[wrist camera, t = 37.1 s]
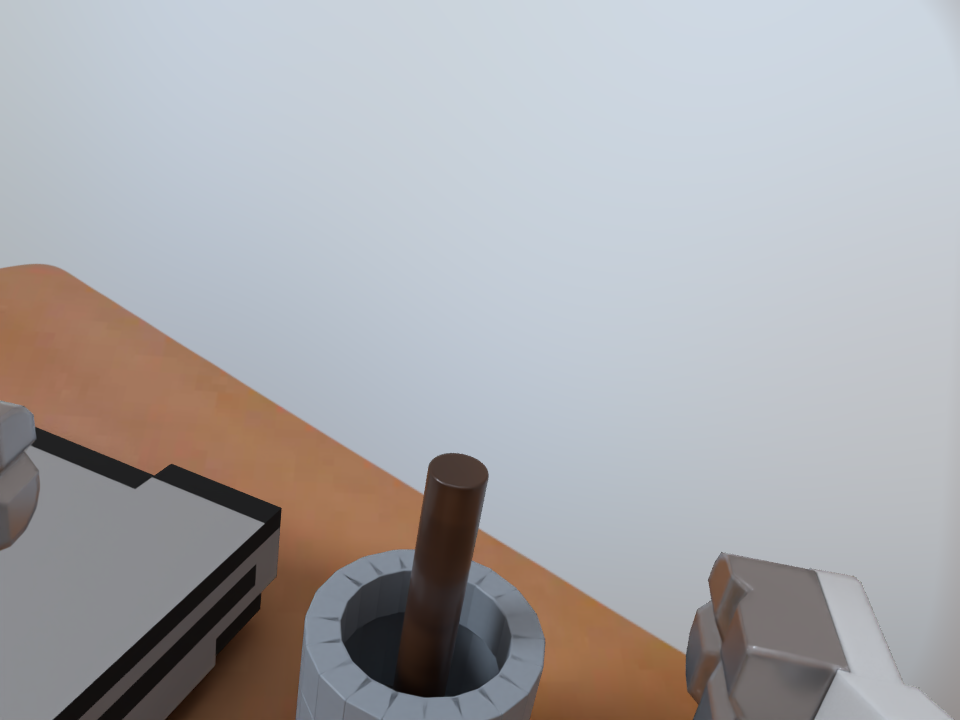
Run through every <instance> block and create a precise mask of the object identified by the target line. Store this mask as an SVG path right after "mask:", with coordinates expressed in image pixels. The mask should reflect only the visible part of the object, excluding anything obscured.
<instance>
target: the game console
mask: <svg viewBox="0 0 960 720" xmlns="http://www.w3.org/2000/svg"><path fill="white" fill-rule="evenodd" d="M35 432H36V440H35V441H34V442H33V443H32V445H31V446H30V447H29V448H28V449H27V450H26V451H25V452H26V454H27V455H28V456H29V458H30V459H31V460H32V462H33V463H34V464H35V466H36V467H37V469H38V470H39V478H40V492H39V498H38V504H37V508H36V510H35V512H34V515H33V517H32V519H31V521H30V523H29V525H28V527H27V529H26V531H25V532H24V533H23V534H22V535H21V536H20V537H19V538H18V539H17V540H16V542H15V543H14V544H13V545H12V546H11V547H9V548H6V549H3V550H1V551H0V720H165V719H166V718H167V717H168V715H169V714H170V713H171V712H172V711H173V710H174V709H175V708H176V707H177V706H178V705H179V704H180V703H181V701H182V700H183V699H184V698H185V697H186V696H187V695H188V694H189V693H190V692H191V691H192V690H193V689H194V688H195V686H196V685H197V684H198V683H199V682H200V681H201V680H202V679H203V678H204V677H205V676H206V675H207V674H208V672H209V671H210V670H211V669H212V668H213V667H214V666H215V656H216V655H217V654H218V653H219V652H220V651H221V650H222V649H223V648H224V647H225V646H226V645H227V644H228V643H229V642H230V640H231V639H232V638H233V637H234V636H235V635H236V634H237V633H238V632H239V631H240V630H241V629H242V628H243V627H244V626H245V625H246V623H247V622H248V621H249V620H250V619H251V618H252V617H253V616H254V615H255V614H256V613H257V612H258V611H259V610H260V604H261V592H262V591H263V590H264V589H265V588H266V587H267V586H268V585H269V584H270V582H271V581H272V580H273V579H274V578H275V577H276V576H277V563H278V549H279V536H280V522H281V508H280V507H278V506H275V505H273V504H270V503H268V502H265V501H263V500H260V499H258V498H255V497H253V496H250V495H248V494H245V493H243V492H240V491H238V490H235V489H233V488H230V487H228V486H225V485H223V484H220V483H218V482H215V481H213V480H210V479H208V478H205V477H203V476H201V475H198V474H196V473H193V472H191V471H188V470H186V469H183V468H181V467H178V466H176V465H173V464H170V465H169V466H167V467H166V468H164V469H163V470H162V471H160V472H159V473H157V474H156V475H155V476H154V475H152V474H149V473H147V472H144V471H142V470H139V469H137V468H135V467H132V466H130V465H127V464H125V463H122V462H120V461H117V460H115V459H113V458H110V457H108V456H105V455H103V454H100V453H98V452H95V451H93V450H90V449H88V448H86V447H83V446H81V445H78V444H76V443H73V442H71V441H68V440H66V439H64V438H61V437H59V436H56V435H54V434H51V433H49V432H46V431H44V430H42V429H39V428H37V427H35Z"/></svg>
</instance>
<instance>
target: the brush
mask: <svg viewBox="0 0 960 720" xmlns="http://www.w3.org/2000/svg"><path fill="white" fill-rule="evenodd" d="M487 482H488V471H487V468H486V467H485V465H483V463H481V462H480V461H479V460H477V459H475V458H473V457H471V456H468V455H464V454H459V453H447V454H442V455H439V456H437V457H435V458H434V459H433V460H432V461H431V462H430V464H429V467H428V473H427V479H426V486H425V491H424V498H423V504H422V510H421V516H420V522H419V528H418V535H417V541H416V547H415V553H414V559H413V566H412V572H411V578H410V584H409V590H408V597H407V603H406V609H405V615H404V621H403V628H402V634H401V640H400V646H399V652H398V658H397V665H396V671H395V677H394V683H393V686H392V685H387V684H385V686H387V687H388V688H390V689H392V690H394V691H396V692H400V693H405V694H409V695H414V696H419V697H423V698H431V697H446V696H445V692H446V687H447V682H448V677H449V672H450V667H451V662H452V657H453V652H454V647H455V642H456V637H457V632H458V627H459V622H460V617H461V612H462V607H463V602H464V597H465V592H466V587H467V582H468V577H469V572H470V567H471V562H472V557H473V552H474V547H475V542H476V537H477V532H478V527H479V522H480V517H481V512H482V507H483V502H484V497H485V492H486V487H487Z"/></svg>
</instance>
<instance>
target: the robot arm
mask: <svg viewBox="0 0 960 720" xmlns="http://www.w3.org/2000/svg"><path fill="white" fill-rule="evenodd" d="M35 440H36V432H35V424H34V416H33V414H32V413H31V412H30V411H29V410H28V409H27V408H25V407H24V406H21V405H17V404H13V403H8V402H4V401H0V551H1V550H3V549H6V548H9V547H11V546H12V545H13V544H14V543H15V542H16V540H17V539H18V538H19V537H20V536H21V535H22V534H23V533H24V532H25V531H26V529H27V527H28V525H29V523H30V521H31V519H32V517H33V515H34V512H35V510H36V508H37V504H38V498H39V492H40V478H39V470H38V469H37V467H36V466H35V464H34V463H33V462H32V460H31V459H30V458H29V456H28V455H27V454H26V452H25V451H26V450H27V449H28V448H29V447H30V446H31V445H32V443H33V442H34V441H35ZM708 582H709V588H710V593H711V601H709V602H708V603H706V604H705V605H703V606H702V607H700V608H699V609H698V610H697V612H696V615H695V618H694V621H693V624H692V627H691V631H690V636H689V641H688V647H687V653H686V681H687V691H688V693H689V694H690V695H691V696H692V698H693V699H694V700H695V701H696V702H697V704H698V708H697V711H696V713H695V716H694V719H693V720H954V719H953V718H952V717H951V716H950V715H949V714H948V713H946V712H945V711H944V710H943V709H942V708H941V707H940V706H939V705H937V704H936V703H935V702H934V701H933V700H932V699H931V698H929V697H928V696H927V695H926V694H925V693H924V692H923V691H922V690H920V689H919V688H917V687H913V686H908V685H904V683H903V680H902V678H901V675H900V673H899V671H898V668H897V666H896V664H895V661H894V659H893V656H892V654H891V652H890V649H889V647H888V645H887V642H886V640H885V637H884V635H883V633H882V630H881V628H880V626H879V623H878V621H877V618H876V616H875V614H874V612H873V609H872V607H871V604H870V602H869V599H868V597H867V595H866V592H865V590H864V588H863V585H862V583H861V582H860V581H859V580H858V579H857V578H856V577H854V576H850V575H844V574H839V573H832V572H827V571H822V570H816V569H804V568H799V567H793V566H789V565H784V564H778V563H773V562H769V561H764V560H759V559H753V558H748V557H743V556H738V555H733V554H728V553H723V552H721V554H720V555H719V557H718V558H717V560H716V561H715V563H714V565H713V568H712V571H711V573H710V576H709V579H708Z"/></svg>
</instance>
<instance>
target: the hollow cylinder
mask: <svg viewBox="0 0 960 720" xmlns="http://www.w3.org/2000/svg"><path fill="white" fill-rule="evenodd" d="M414 553H415V550H392V551H387V552H383V553H378V554H374V555H369V556H366V557H362V558H360V559H358V560H356V561H354V562H353V563H351V564H349V565H347V566H345V567H343V568H341V569H339V570H338V571H336V572H335V573H334V574H333V575H332V576H331V577H330V578H329V579H328V580H327V581H326V582H325V583H324V584H323V585H322V586H321V587H320V588H319V589H318V590H317V592H316V593H315V595H314V598H313V600H312V602H311V605H310V607H309V609H308V612H307V614H306V616H305V625H304V635H303V646H302V657H301V667H300V678H299V688H298V699H297V710H296V720H529V719H530V716H531V712H532V708H533V704H534V701H535V697H536V693H537V689H538V686H539V682H540V678H541V674H542V671H543V665H544V652H545V638H544V635H543V632H542V629H541V626H540V623H539V620H538V617H537V614H536V613H535V611H534V610H533V609H532V607H531V606H530V605H529V603H528V602H527V601H526V599H525V598H524V597H523V596H522V594H521V593H520V592H519V591H518V590H517V589H516V588H515V587H514V586H513V585H511V584H510V583H509V582H507V581H506V580H505V579H503V578H502V577H501V576H499V575H498V574H497V573H496V572H494V571H492V569H490V568H487V567H485V566H483V565H481V564H478V563H476V562H474V561H472V562H471V567H470V572H469V577H468V582H467V587H466V592H465V597H464V602H463V607H462V612H461V617H460V622H459V627H458V632H457V637H456V642H455V647H454V652H453V657H452V662H451V667H450V672H449V677H448V682H447V687H446V692H445V696H446V697H431V698H423V697H419V696H414V695H409V694H405V693H400V692H396V691H394V690H392V689H390V688H388V687H387V686H385V684H387V685H392V686H393V683H394V677H395V671H396V665H397V658H398V652H399V646H400V640H401V634H402V628H403V621H404V615H405V609H406V603H407V597H408V590H409V584H410V578H411V572H412V566H413V559H414Z"/></svg>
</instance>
